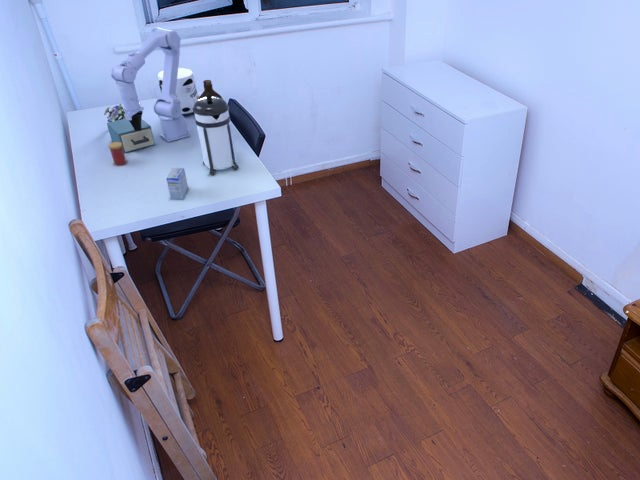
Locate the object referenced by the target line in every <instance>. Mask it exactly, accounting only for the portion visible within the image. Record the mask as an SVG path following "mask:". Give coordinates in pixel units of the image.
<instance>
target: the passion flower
mask: <svg viewBox="0 0 640 480" xmlns="http://www.w3.org/2000/svg"><path fill="white" fill-rule="evenodd" d="M107 114H108V115H107ZM103 115H104V116H106V115H107V117H106V118H107V123H109V122H113V121H118V120H122V119H125V111H124V106H122V103H119V104H118V105H115V106H113V107H112V108H110V106H108V107H107V108H106V109H105V111H104V113H103Z"/></svg>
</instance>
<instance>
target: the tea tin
mask: <svg viewBox="0 0 640 480" xmlns="http://www.w3.org/2000/svg"><path fill="white" fill-rule="evenodd" d="M108 148H109V150H110V154H111V158H112V160H113V164H114V166H117V167H119V166H124V165H126V164H127V158H126V155H125V153H124V151H123V148H122V143H121V142H111V143H109V144H108Z"/></svg>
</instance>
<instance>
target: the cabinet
mask: <svg viewBox="0 0 640 480" xmlns="http://www.w3.org/2000/svg"><path fill="white" fill-rule="evenodd" d="M106 125H107V129H108V133H109V136H110V139H111V143H113V142H121V143H122V139H121V135H123V134H127V133H131V132H135V130H134V128H133V126H132V124H131V123H130V122H129V120H126V119H122V120H118V121H113V122H106ZM149 128H150V129H151V132H152V136H153V140H154V144H153V145H149V146H145V147H142V148H138V149H134V150H131V151H127V152H126V151H125V150H124V146H123V143H122V148H123V151H124V154H126V153H130V152H133V151H136V150H140V149H144V148H147V147H152V146H155V145H156V142H155V137H154V134H153V129H152V126H151V125H150V124H149V123H148V122H147V121H145V120H144V119H143V117H142V118H141V130H143V129H149Z"/></svg>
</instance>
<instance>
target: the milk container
mask: <svg viewBox="0 0 640 480" xmlns="http://www.w3.org/2000/svg"><path fill="white" fill-rule="evenodd" d="M163 71H164V69H163V70H161V71H159V72H158V73H157V81H158V86H159V90H160V93H161V92H162V81H163ZM196 85H197V84H196V80H195V75H194V72H193V71H192V70H191V69H189V68H184V67H178V76H177V85H176V97H177V98H178V99H179V100H180V107H181V114H182V115H183V116H188V115H191V114H195V113H194V112H193V106H194V104H195V102H196V101H198V99H199V97H200V94H199V92H198V90H197V86H196ZM166 102H169V101H166Z"/></svg>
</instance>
